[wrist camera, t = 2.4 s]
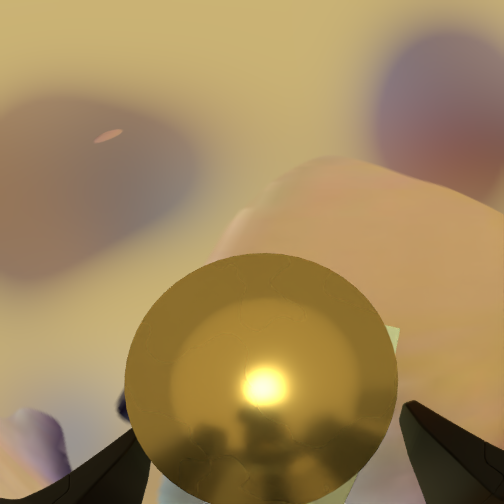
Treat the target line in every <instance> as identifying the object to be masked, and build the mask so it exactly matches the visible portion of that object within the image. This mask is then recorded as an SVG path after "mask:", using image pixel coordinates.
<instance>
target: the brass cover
mask: <svg viewBox="0 0 504 504" xmlns="http://www.w3.org/2000/svg"><path fill="white" fill-rule="evenodd" d="M397 387H398V373H397V362H396V357H395V353H394V348H393V344H392V342H391V339H390V336H389V334H388V331H387V329H386V327H385V325H384V323H383V321H382V319H381V318H380V316H379V314H378V313H377V311H376V310H375V309H374V307H373V306H372V305H371V303H370V302H369V301H368V299H367V298H366V297H365V296H364V295H363V294H362V293H361V292H360V291H359V290H358V289H357V288H356V287H355V286H353V285H352V284H351V283H349V282H348V281H347V280H346V279H344V278H343V277H341V276H340V275H338V274H336V273H335V272H333V271H331V270H330V269H328V268H326V267H323V266H321V265H319V264H317V263H314V262H312V261H308V260H305V259H302V258H299V257H294V256H288V255H283V254H270V253H258V254H246V255H239V256H233V257H229V258H226V259H222V260H218V261H216V262H213V263H211V264H208V265H205V266H203V267H201V268H199V269H197V270H195V271H194V272H192V273H190V274H188V275H187V276H185V277H184V278H182V279H181V280H179V281H178V282H176V283H175V284H174V285H173V286H172V287H171V288H169V289H168V290H167V291H166V292H165V293H164V294H163V295H162V296H161V297H160V298H159V299H158V300H157V301H156V302H155V303H154V305H153V306H152V307H151V309H150V310H149V311H148V313H147V314H146V316H145V317H144V319H143V321H142V323H141V324H140V326H139V328H138V329H137V331H136V334H135V337H134V339H133V341H132V344H131V347H130V350H129V354H128V358H127V363H126V370H125V400H126V407H127V412H128V415H129V419H130V423H131V426H132V428H133V430H134V433H135V435H136V437H137V440H138V442H139V443H140V445H141V447H142V448H143V450H144V452H145V453H146V455H147V456H148V457H149V459H150V460H151V461H152V463H153V464H154V465H155V466H156V467H157V469H158V470H159V471H160V472H162V473H163V474H164V475H165V476H166V477H167V478H168V479H169V480H170V481H171V482H173V483H174V484H175V485H177V486H178V487H180V488H181V489H182V490H184V491H185V492H187V493H189V494H191V495H193V496H195V497H197V498H198V499H200V500H203V501H205V502H208V503H211V504H308V503H310V502H313V501H316V500H318V499H320V498H322V497H324V496H326V495H328V494H330V493H332V492H333V491H335V490H336V489H338V488H339V487H341V486H342V485H344V484H345V483H346V482H348V481H349V480H350V479H351V478H352V477H354V476H355V475H356V474H357V473H358V472H359V471H360V470H361V469H362V468H363V467H364V466H365V465H366V463H367V462H368V461H369V460H370V458H371V457H372V456H373V454H374V453H375V452H376V450H377V449H378V447H379V445H380V444H381V442H382V440H383V438H384V436H385V435H386V432H387V430H388V427H389V425H390V422H391V419H392V417H393V413H394V408H395V404H396V399H397Z"/></svg>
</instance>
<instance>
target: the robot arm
mask: <svg viewBox="0 0 504 504" xmlns="http://www.w3.org/2000/svg"><path fill="white" fill-rule="evenodd" d="M399 423H400V427H401V430H402V434H403V438H404V441H405V445H406V449H407V453H408V456H409V459H410V462H411V464H412V467H413V469H414V472H415V475H416V477H417V480H418V482H419V485H420V488H421V490H422V493H423V496H424V498H425V501H426V504H504V450H502V449H500V448H498V447H496V446H494V445H492V444H490V443H488V442H485V441H484V440H482V439H481V438H479V437H477V436H475V435H473V434H472V433H470V432H468V431H466V430H465V429H463V428H461V427H459V426H458V425H456V424H454V423H452V422H451V421H449V420H447V419H446V418H444V417H442V416H441V415H439V414H437V413H435V412H434V411H432V410H430V409H429V408H427V407H425V406H424V405H422V404H421V403H419V402H417V401H415V400H412V401H409V402H406V403H404V404H403V406H402V410H401V414H400V418H399ZM150 463H151V460H150V459H149V457H148V456H147V455H146V453H145V452H144V450H143V448H142V447H141V445H140V443H139V442H138V440H137V437H136V435H135V433H134V430H133V428H131V429H130V430H128V431H127V432H126V433H125V434H123V435H122V436H121V437H119V438H118V439H117V440H115V441H114V442H113V443H111V444H110V445H109V446H107V447H106V448H105V449H103V450H102V451H100V452H99V453H98V454H96V455H95V456H94V457H92V458H91V459H89V460H88V461H86V462H85V463H84V464H82V465H81V466H80V467H78V468H77V469H75V470H74V471H72V472H71V473H70V474H68V475H66V476H65V477H63V478H61V479H60V480H58V481H57V482H55V483H53V484H51V485H50V486H48V487H46V488H44V489H42V490H40V491H38V492H36V493H33V494H31V495H29V496H27V497H24V498H21V499H4V498H0V504H142V500H143V496H144V492H145V489H146V485H147V481H148V477H149V470H150Z"/></svg>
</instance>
